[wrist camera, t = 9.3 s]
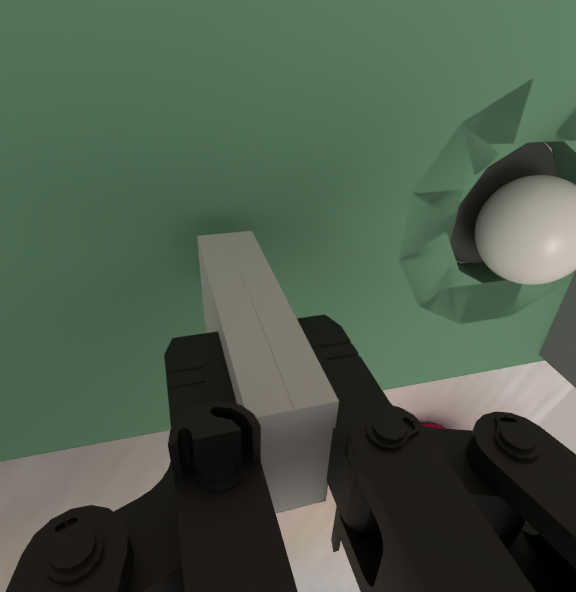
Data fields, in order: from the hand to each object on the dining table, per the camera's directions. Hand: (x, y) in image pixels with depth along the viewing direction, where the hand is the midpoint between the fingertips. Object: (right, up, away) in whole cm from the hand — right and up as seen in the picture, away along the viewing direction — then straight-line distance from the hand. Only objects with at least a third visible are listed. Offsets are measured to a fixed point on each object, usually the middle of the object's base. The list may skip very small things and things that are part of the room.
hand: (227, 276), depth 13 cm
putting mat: (+3, +2, +4) cm, 6 cm away
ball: (+11, +2, +4) cm, 12 cm away
